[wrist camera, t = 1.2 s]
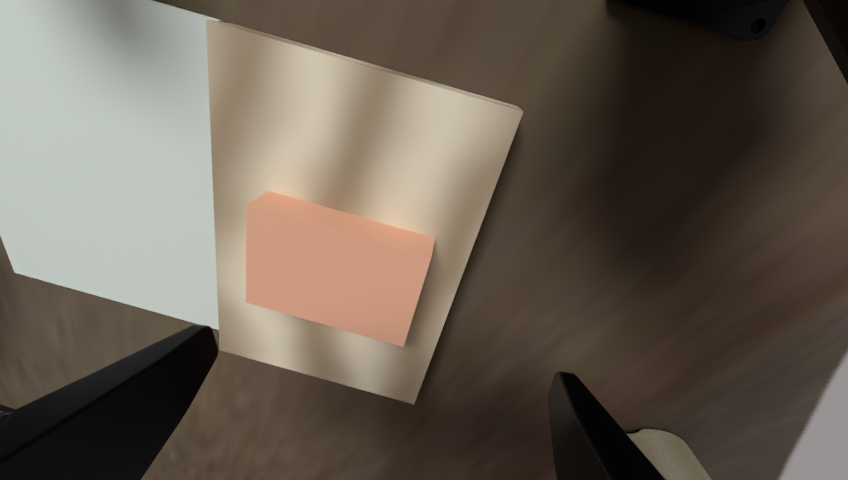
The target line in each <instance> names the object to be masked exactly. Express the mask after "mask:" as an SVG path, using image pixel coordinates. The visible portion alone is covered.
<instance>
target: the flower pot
mask: <svg viewBox="0 0 848 480" xmlns="http://www.w3.org/2000/svg"><path fill="white" fill-rule="evenodd" d="M626 434H627V433H626ZM627 435H628V436H629V437H630V439H631V440H632V441H633V442H634V443H635V444H636V446H637V447H638V448H639V449H640V450H641V451H642V453H643V454H644V455H645V456H646V457H647V458H648V459H649V461H650V462H651V463H652V464H653V465H654V466H655V468H656V469H657V470H658V471H659V472H660V473H661V475H662V476H663V477H664V478H665V479H666V480H712V479H711V478H710V477H709V475H708V474H707V472H706V471H705V470H704V468H703V467H702V465H701V464H700V463H699V461H698V460H697V458H696V457H695V456H694V454H693V453H692V451H691V449H690V448H689V447H688V445H687V444H686V443H685V442H684V441H683V440H682V439H681V438H679V437H678V436H676V435H674V434H672V433H669V432H666V431H662V430H656V429H641V430H640V431H638V432H637V433H632V434H627Z"/></svg>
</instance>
